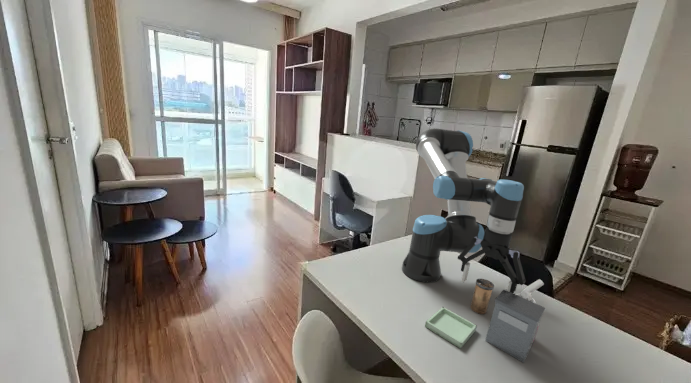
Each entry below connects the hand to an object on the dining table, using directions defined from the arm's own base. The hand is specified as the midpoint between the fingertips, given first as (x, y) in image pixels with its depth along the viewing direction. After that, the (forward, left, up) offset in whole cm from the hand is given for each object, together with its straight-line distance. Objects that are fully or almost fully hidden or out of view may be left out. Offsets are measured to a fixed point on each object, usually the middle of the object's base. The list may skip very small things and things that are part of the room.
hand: (484, 290), depth 96 cm
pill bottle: (+14, -2, -8) cm, 16 cm away
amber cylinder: (0, 0, -8) cm, 8 cm away
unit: (+12, -10, -8) cm, 17 cm away
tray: (-2, -17, -8) cm, 18 cm away
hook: (+9, +19, -8) cm, 22 cm away
